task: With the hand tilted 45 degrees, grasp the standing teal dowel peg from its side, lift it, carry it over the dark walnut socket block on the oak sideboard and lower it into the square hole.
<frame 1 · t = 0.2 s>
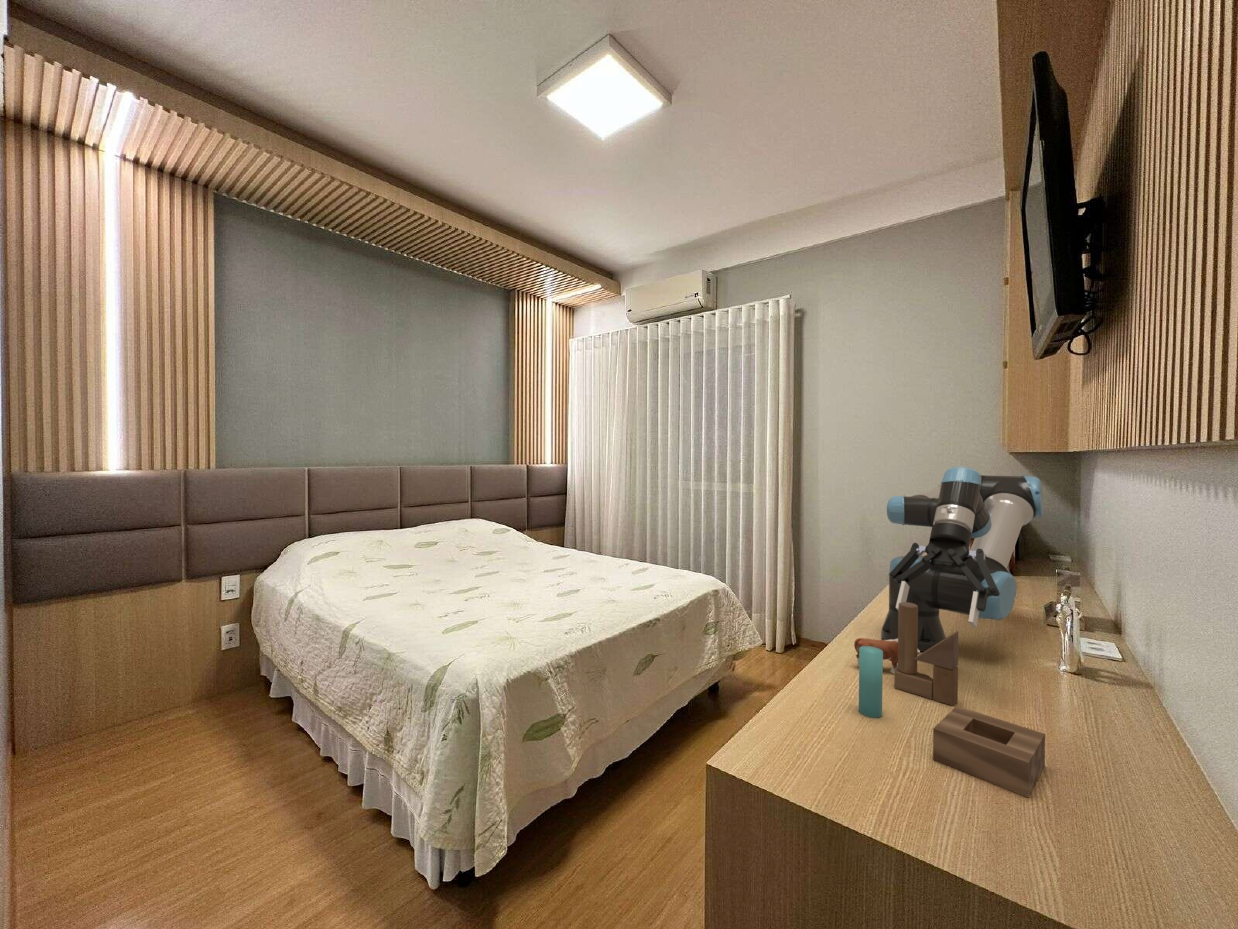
hand: (934, 617, 105), 15 cm above the cabinet, tool tilted 35°, fingers open, 13 cm apart
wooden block: (925, 695, 103), on the cabinet
peg: (870, 712, 95), on the cabinet
bull figurine: (885, 672, 115), on the cabinet
socket block: (988, 762, 79), on the cabinet
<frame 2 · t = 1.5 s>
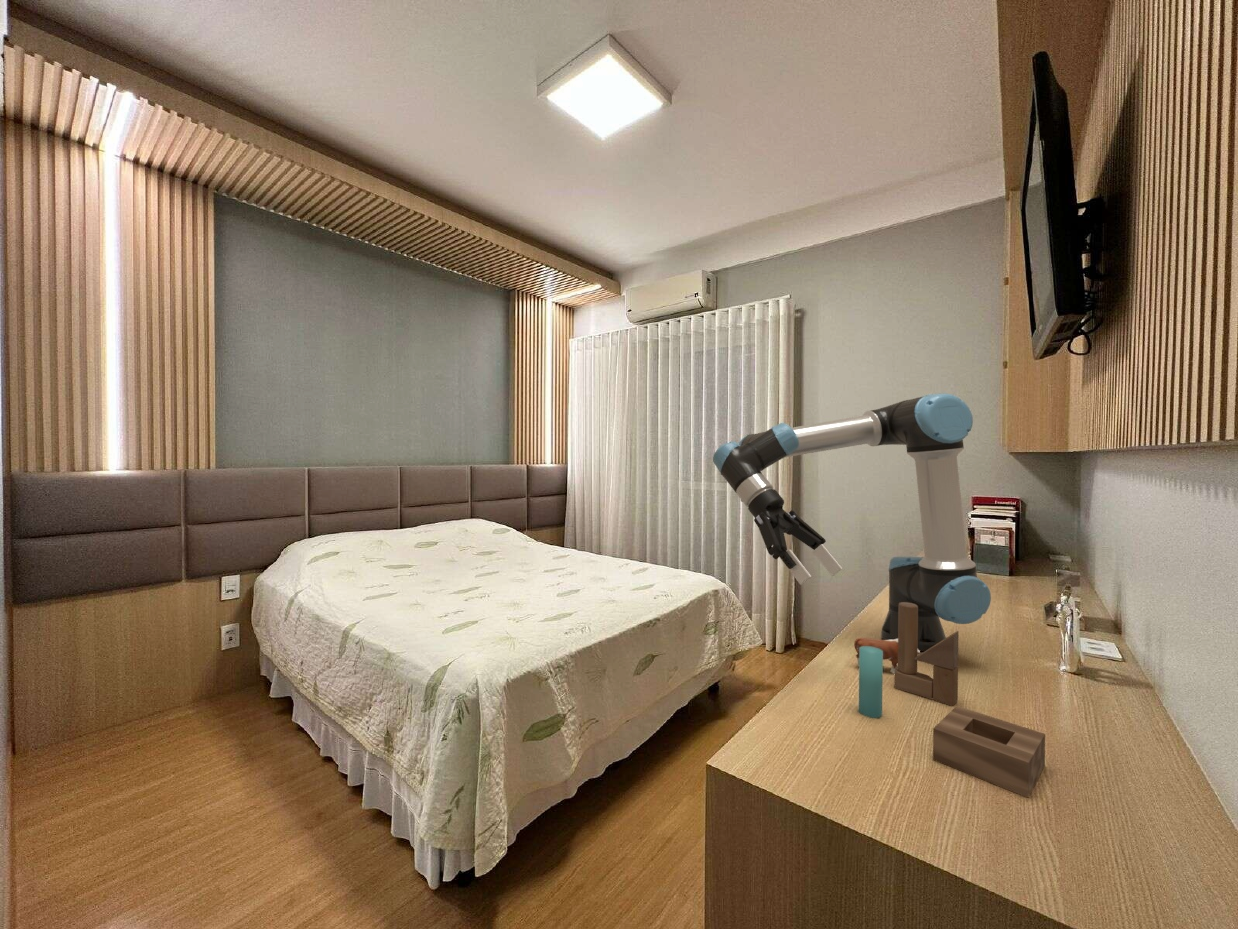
hand: (822, 576, 103), 24 cm above the cabinet, tool tilted 45°, fingers open, 13 cm apart
nothing on the cabinet moved.
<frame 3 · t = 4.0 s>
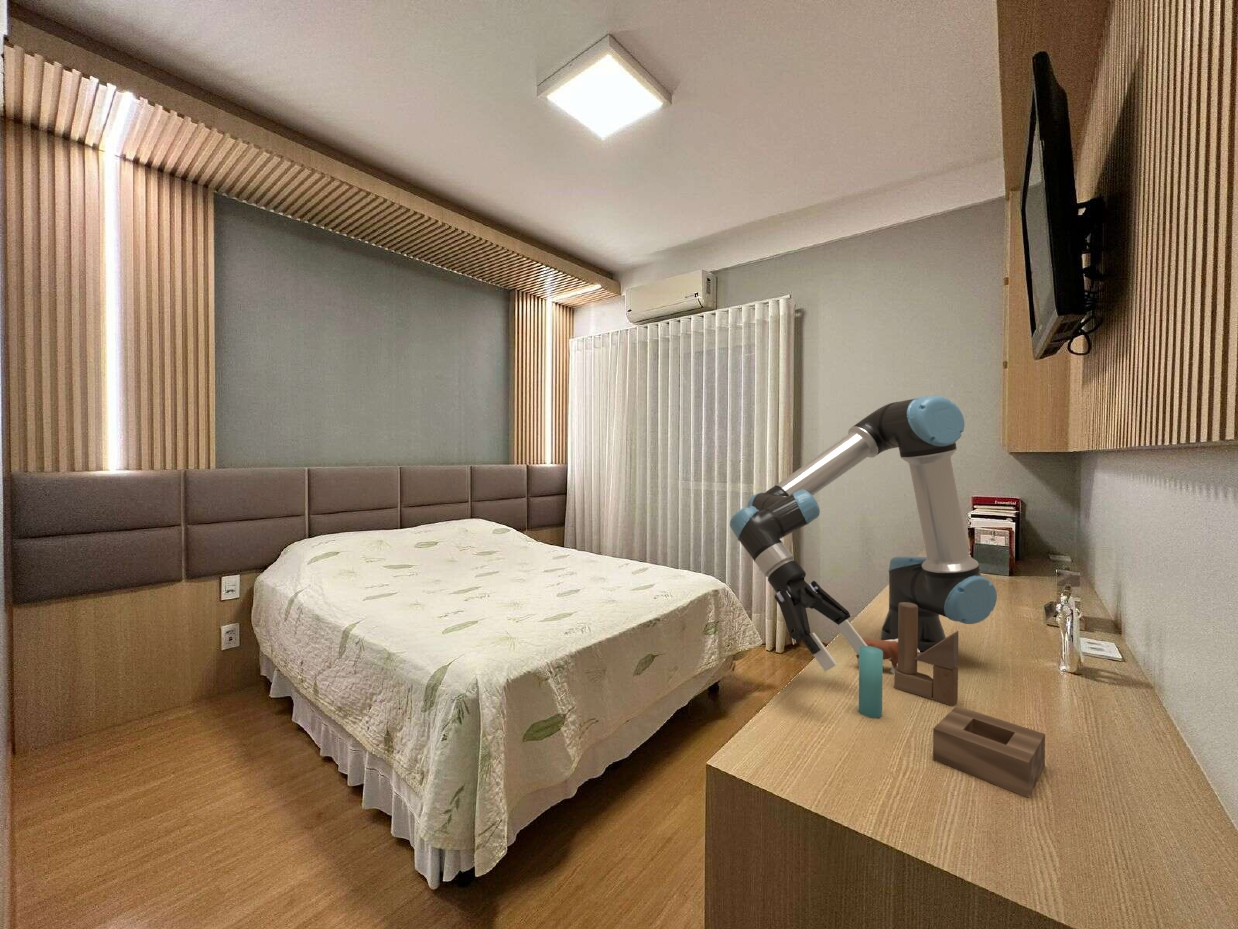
hand: (848, 659, 97), 9 cm above the cabinet, tool tilted 45°, fingers open, 13 cm apart
nothing on the cabinet moved.
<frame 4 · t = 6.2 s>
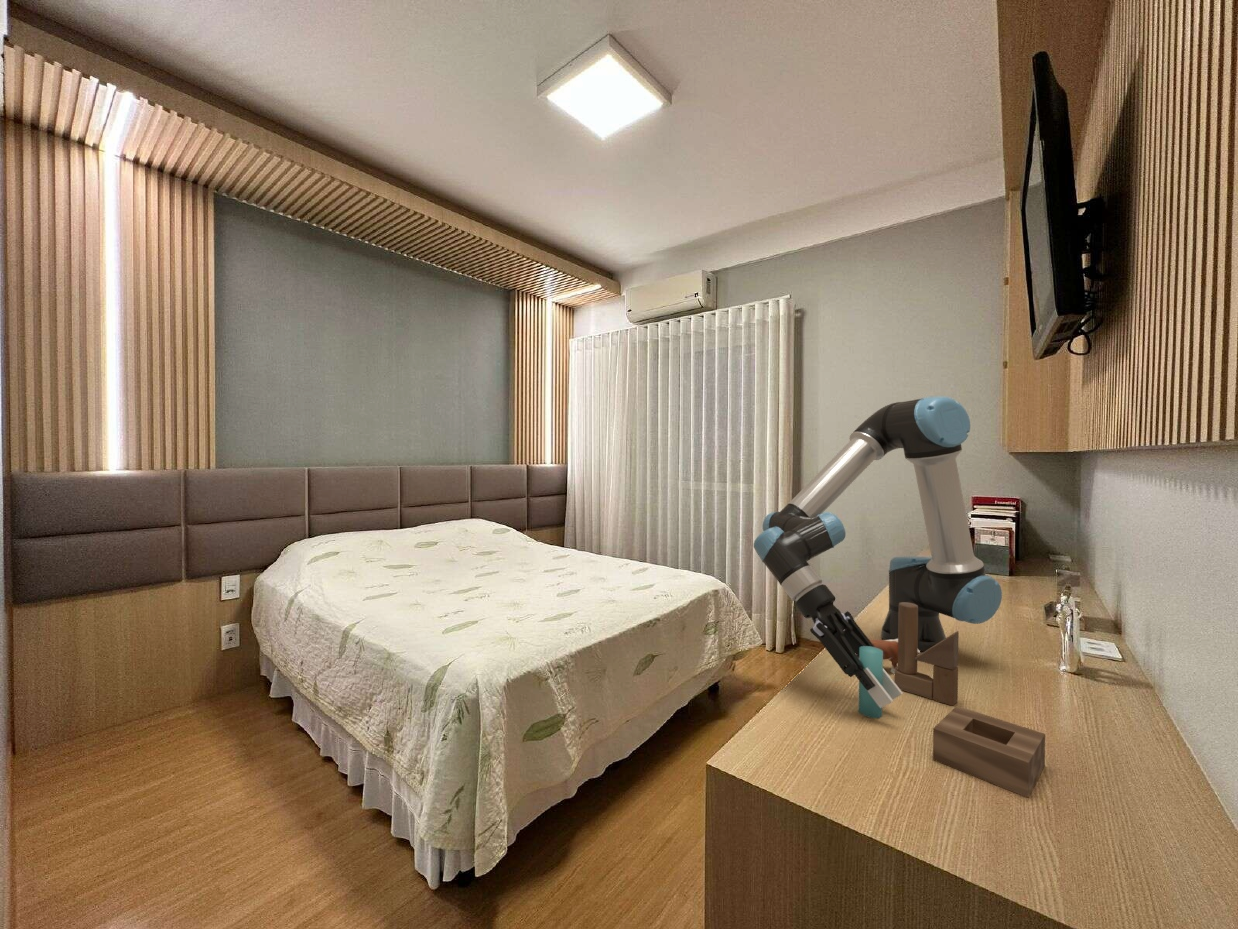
hand: (891, 700, 92), 4 cm above the cabinet, tool tilted 45°, fingers closed on peg, 4 cm apart
peg: (870, 712, 95), on the cabinet, touching gripper
everything else where it was.
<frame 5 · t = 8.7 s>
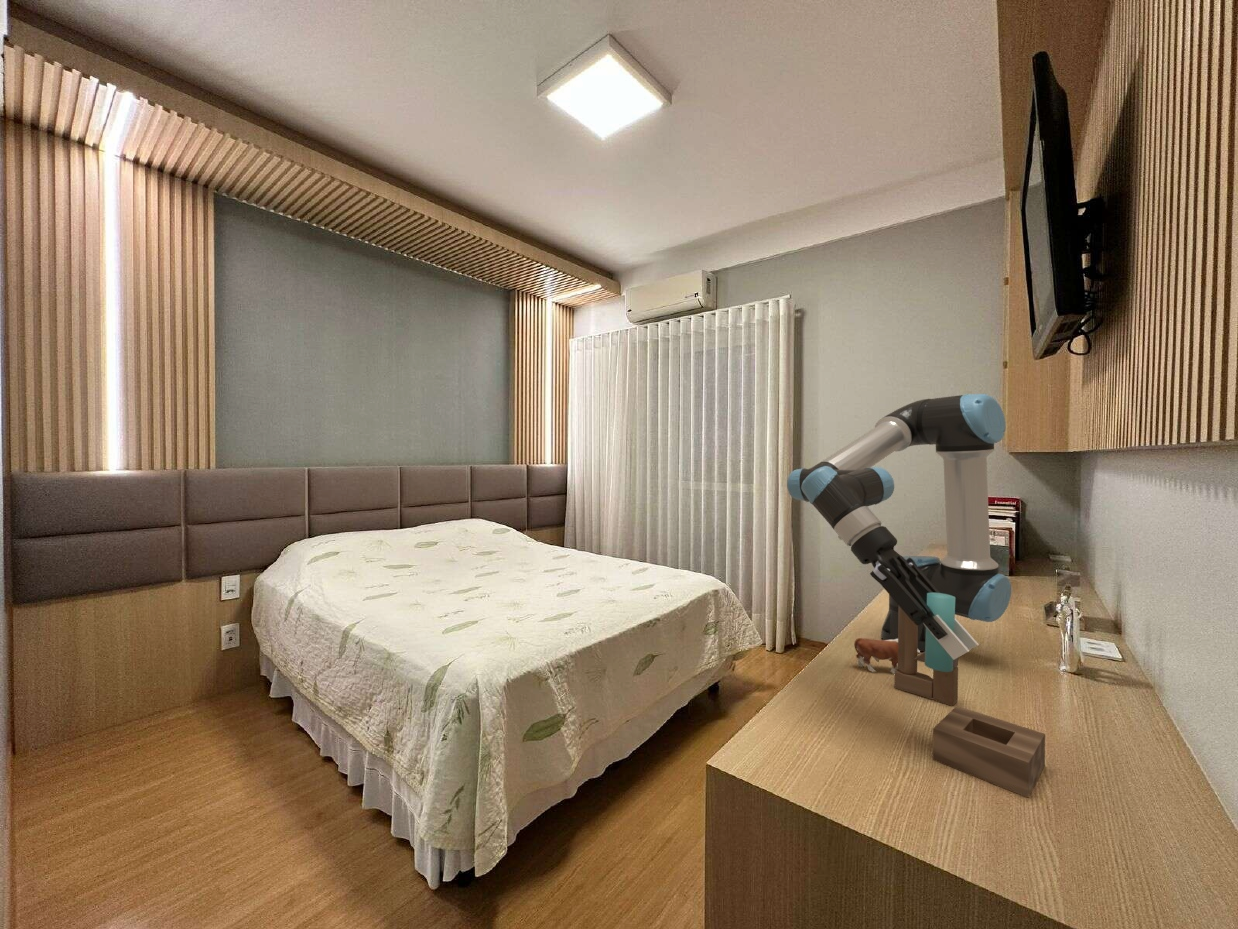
hand: (966, 651, 81), 17 cm above the cabinet, tool tilted 45°, fingers closed on peg, 4 cm apart
peg: (938, 666, 84), point 13 cm above the cabinet, touching gripper
everything else where it was.
when the fingers open (7 cm above the cabinet, at t = 11.3 s): peg drops 2 cm, resting on socket block.
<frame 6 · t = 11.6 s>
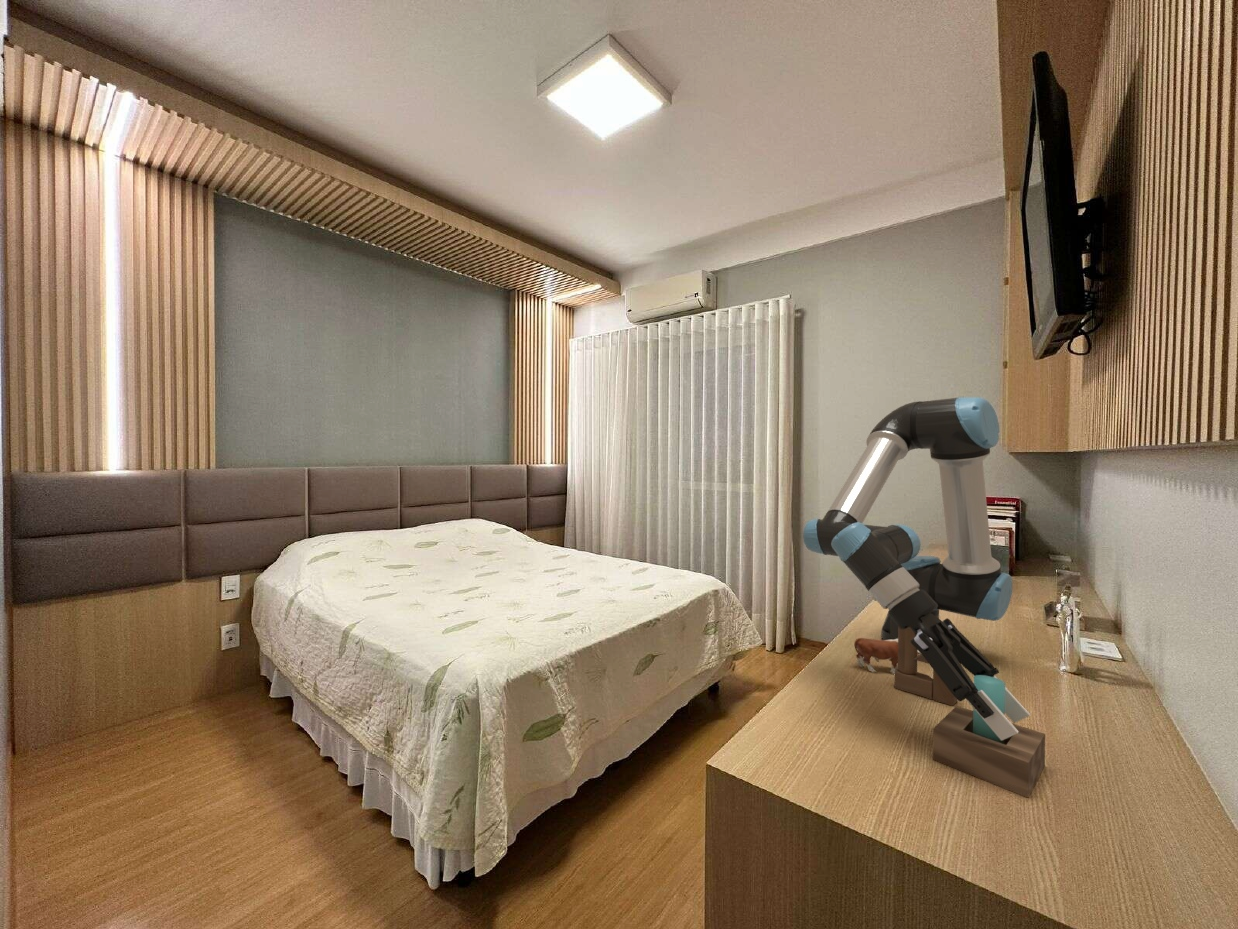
hand: (1016, 727, 77), 7 cm above the cabinet, tool tilted 45°, fingers open, 7 cm apart
peg: (987, 756, 79), point 1 cm above the cabinet, touching socket block
everything else where it was.
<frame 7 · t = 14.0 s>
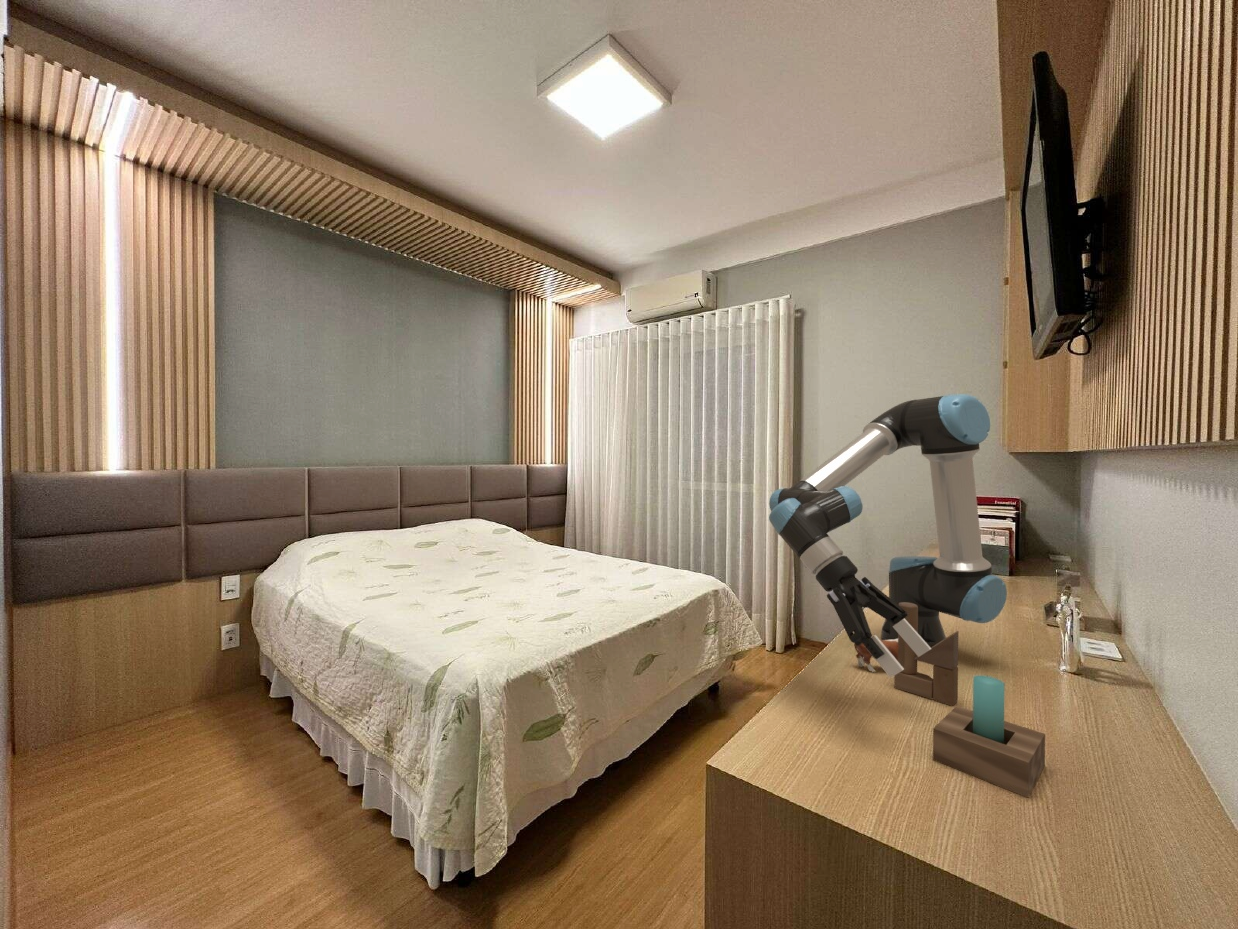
hand: (912, 663, 89), 12 cm above the cabinet, tool tilted 45°, fingers open, 13 cm apart
nothing on the cabinet moved.
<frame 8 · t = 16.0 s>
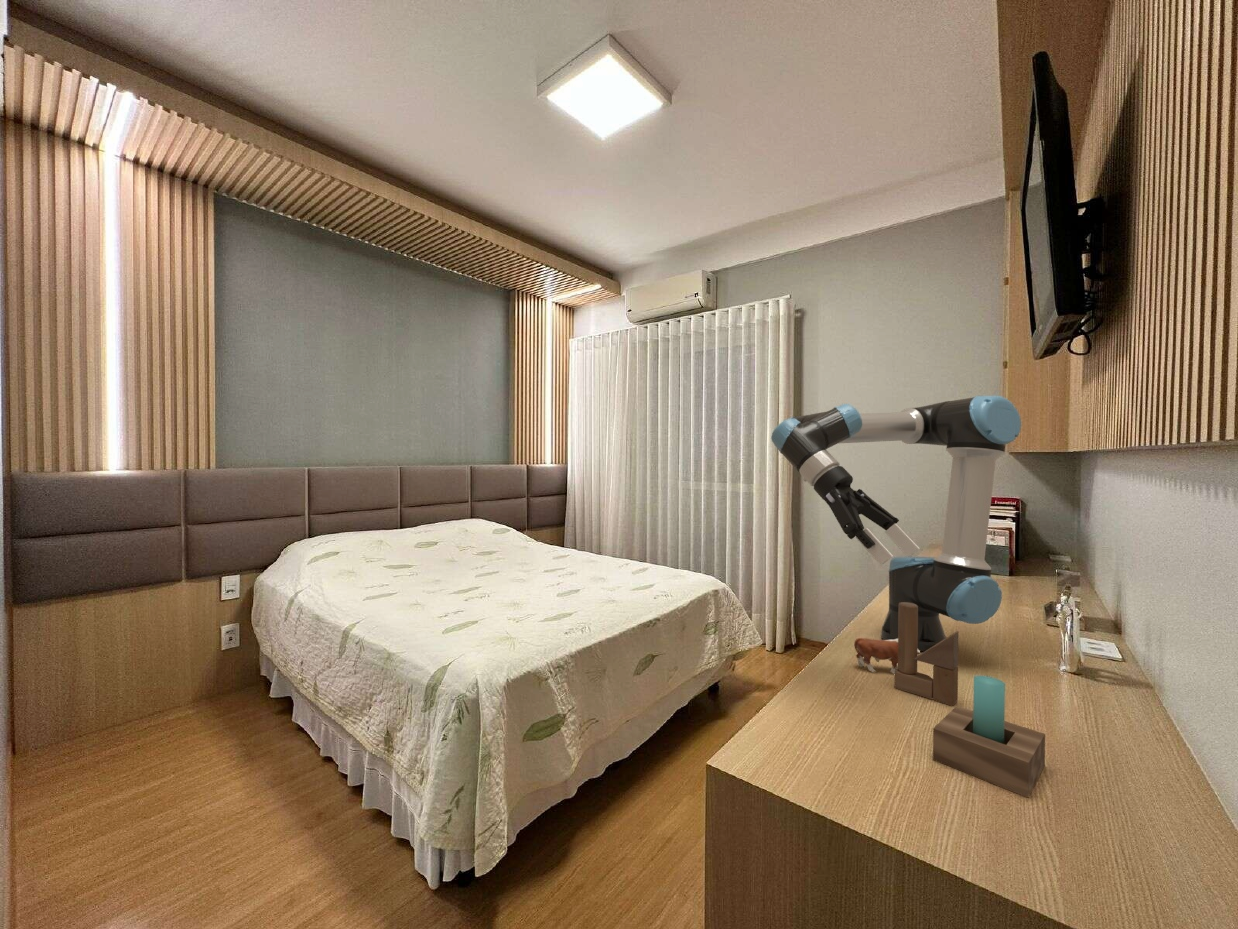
hand: (901, 556, 96), 30 cm above the cabinet, tool tilted 45°, fingers open, 13 cm apart
nothing on the cabinet moved.
at the end: peg 0.1 cm off-centre on the socket block, point 1.0 cm above the socket block's base; peg tilted 0°; the gripper is holding nothing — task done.
